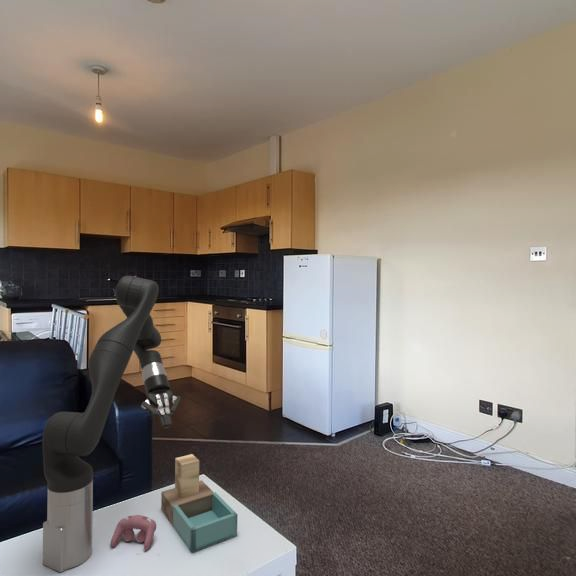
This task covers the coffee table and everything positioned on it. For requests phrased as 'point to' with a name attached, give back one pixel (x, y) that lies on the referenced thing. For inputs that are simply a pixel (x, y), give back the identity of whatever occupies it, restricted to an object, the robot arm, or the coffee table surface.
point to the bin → (206, 525)
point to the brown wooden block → (187, 502)
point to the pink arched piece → (135, 522)
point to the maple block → (187, 475)
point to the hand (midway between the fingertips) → (167, 427)
